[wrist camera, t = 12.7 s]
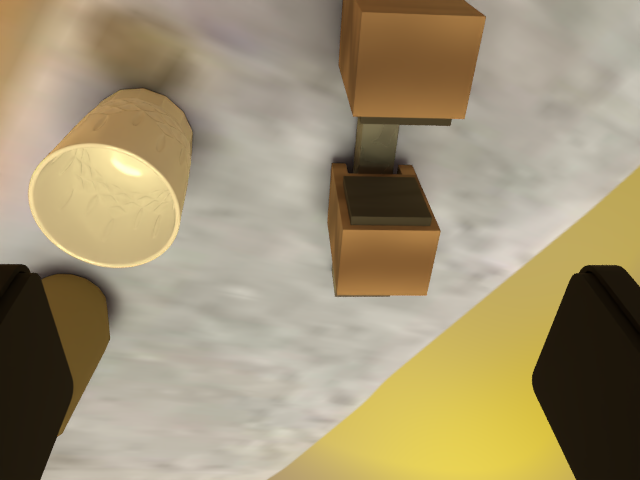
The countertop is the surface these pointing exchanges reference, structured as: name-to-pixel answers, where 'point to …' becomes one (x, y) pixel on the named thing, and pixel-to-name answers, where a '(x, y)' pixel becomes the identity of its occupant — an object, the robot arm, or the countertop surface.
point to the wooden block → (409, 59)
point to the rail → (373, 159)
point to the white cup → (116, 181)
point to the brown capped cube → (380, 233)
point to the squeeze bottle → (78, 328)
